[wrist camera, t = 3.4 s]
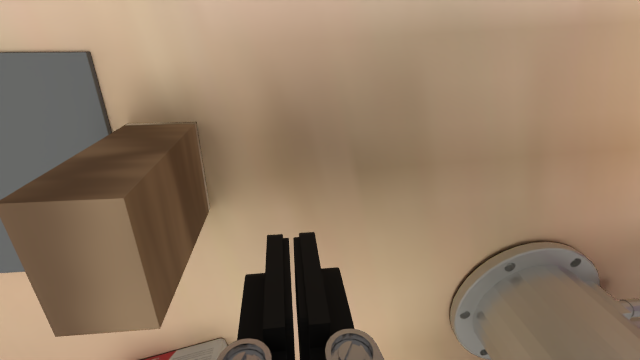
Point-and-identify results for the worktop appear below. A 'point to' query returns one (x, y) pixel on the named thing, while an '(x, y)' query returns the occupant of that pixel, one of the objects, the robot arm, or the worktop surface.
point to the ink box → (195, 352)
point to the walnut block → (112, 228)
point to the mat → (44, 121)
